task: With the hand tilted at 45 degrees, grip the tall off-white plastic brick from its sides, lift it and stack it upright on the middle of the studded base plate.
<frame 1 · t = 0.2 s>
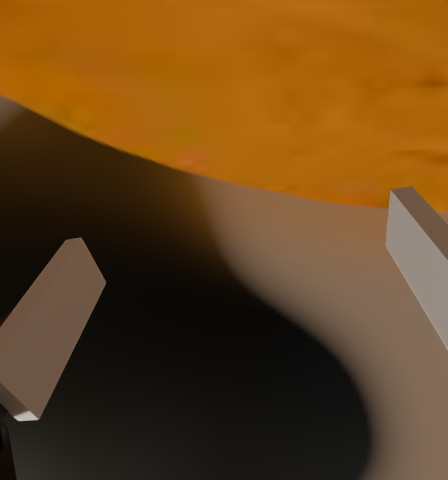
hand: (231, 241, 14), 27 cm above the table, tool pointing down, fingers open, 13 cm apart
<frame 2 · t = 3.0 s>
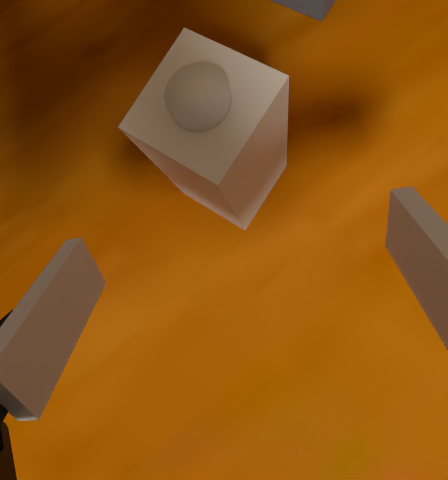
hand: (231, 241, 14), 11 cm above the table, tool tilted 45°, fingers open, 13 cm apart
tower brick: (233, 179, 26), on the table
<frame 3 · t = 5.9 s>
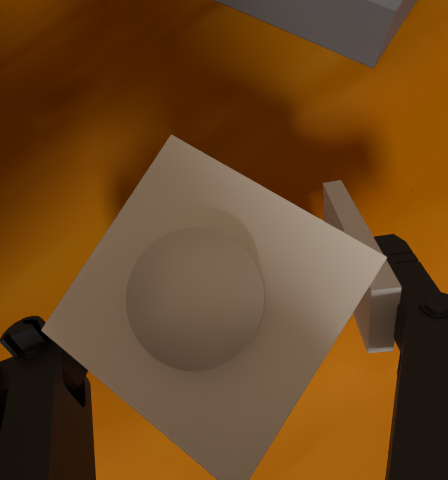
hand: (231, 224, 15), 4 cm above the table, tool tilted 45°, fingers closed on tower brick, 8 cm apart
tower brick: (249, 295, 18), on the table, touching gripper
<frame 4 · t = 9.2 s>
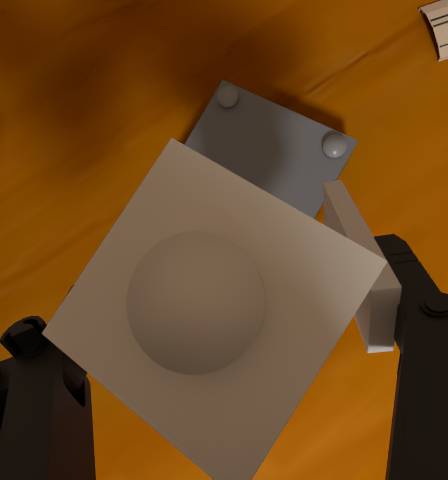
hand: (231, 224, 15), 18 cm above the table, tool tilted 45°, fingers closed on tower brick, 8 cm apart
base plate: (252, 186, 34), on the table
tower brick: (249, 296, 18), point 14 cm above the table, touching gripper
when the fingers open (9 cm above the table, at t = 12.5 s): tower brick drops 1 cm, resting on base plate.
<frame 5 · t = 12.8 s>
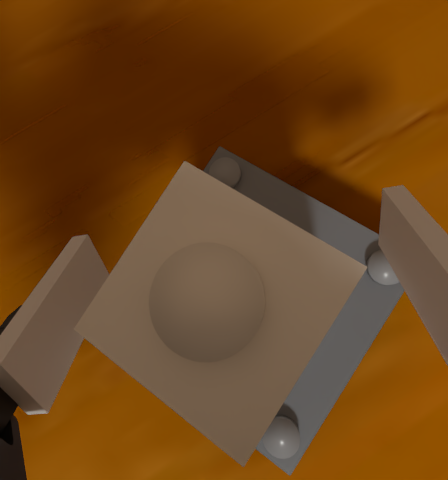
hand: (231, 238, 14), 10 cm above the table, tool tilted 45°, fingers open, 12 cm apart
base plate: (256, 294, 24), on the table
tower brick: (250, 296, 20), point 4 cm above the table, touching base plate
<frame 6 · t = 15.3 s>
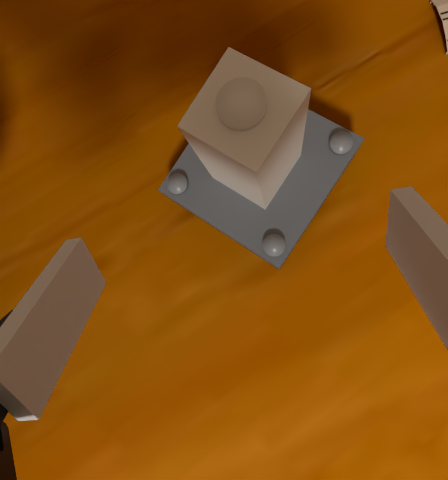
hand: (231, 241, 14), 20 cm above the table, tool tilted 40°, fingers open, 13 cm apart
base plate: (259, 177, 35), on the table
tower brick: (255, 166, 31), point 4 cm above the table, touching base plate
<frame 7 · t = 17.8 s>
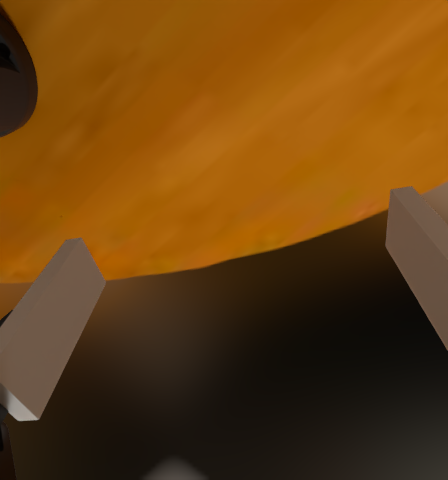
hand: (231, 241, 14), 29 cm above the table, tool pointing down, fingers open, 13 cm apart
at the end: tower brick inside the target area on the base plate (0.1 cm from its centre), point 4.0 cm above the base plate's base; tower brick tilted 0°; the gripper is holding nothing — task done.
